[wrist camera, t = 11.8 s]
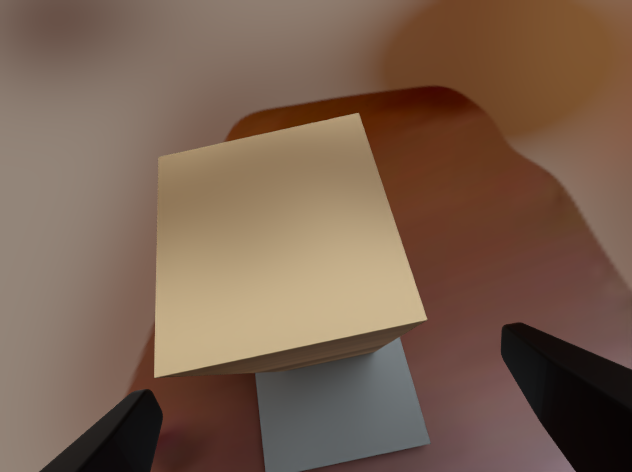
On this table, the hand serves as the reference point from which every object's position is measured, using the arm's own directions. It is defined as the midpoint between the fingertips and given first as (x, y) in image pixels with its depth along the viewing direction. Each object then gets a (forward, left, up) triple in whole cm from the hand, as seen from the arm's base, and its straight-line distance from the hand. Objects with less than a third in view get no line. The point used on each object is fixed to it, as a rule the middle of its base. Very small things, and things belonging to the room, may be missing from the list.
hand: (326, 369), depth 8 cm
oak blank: (+3, 0, -9) cm, 10 cm away
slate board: (+3, 0, -10) cm, 11 cm away
